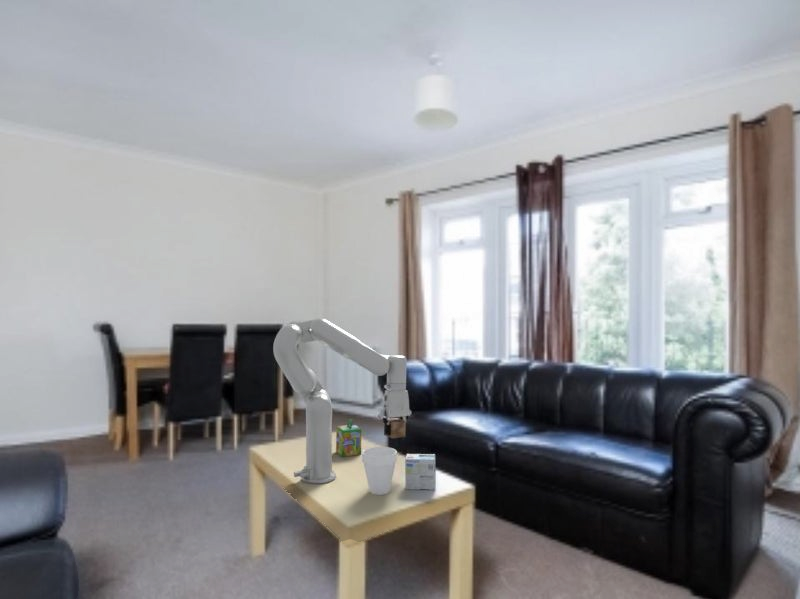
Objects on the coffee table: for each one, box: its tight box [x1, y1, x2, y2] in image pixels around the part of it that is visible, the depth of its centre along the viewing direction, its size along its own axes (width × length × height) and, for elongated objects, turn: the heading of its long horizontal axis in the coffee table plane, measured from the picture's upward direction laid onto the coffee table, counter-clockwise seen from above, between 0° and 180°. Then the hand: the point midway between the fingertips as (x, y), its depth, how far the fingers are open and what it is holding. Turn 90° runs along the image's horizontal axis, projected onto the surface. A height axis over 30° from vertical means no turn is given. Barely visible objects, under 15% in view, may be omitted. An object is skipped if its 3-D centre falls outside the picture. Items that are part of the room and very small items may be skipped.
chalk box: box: [335, 418, 362, 458], centre depth 207 cm, size 9×9×15 cm
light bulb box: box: [404, 453, 437, 491], centre depth 166 cm, size 11×7×11 cm, turn 84°
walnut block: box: [383, 417, 407, 439], centre depth 181 cm, size 6×6×6 cm
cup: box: [361, 446, 398, 496], centre depth 162 cm, size 12×12×14 cm
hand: (394, 433), depth 181 cm, fingers closed on walnut block, 6 cm apart
